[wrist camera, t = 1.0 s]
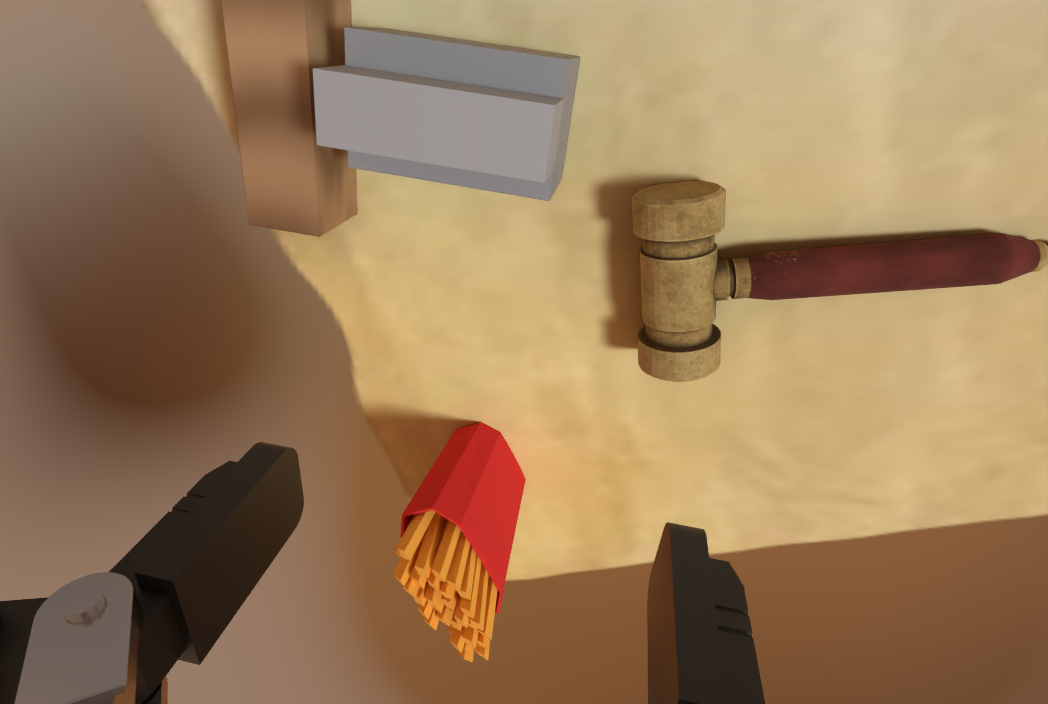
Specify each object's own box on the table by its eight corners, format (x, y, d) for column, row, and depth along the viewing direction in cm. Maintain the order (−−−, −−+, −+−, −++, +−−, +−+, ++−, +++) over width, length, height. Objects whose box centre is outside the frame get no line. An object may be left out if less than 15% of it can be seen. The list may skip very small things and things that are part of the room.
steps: (387, 28, 30) (310, 25, 23) (580, 56, 29) (560, 62, 22) (387, 150, 33) (318, 180, 26) (561, 178, 32) (539, 218, 25)
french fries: (437, 422, 41) (360, 566, 30) (489, 407, 40) (430, 552, 28) (492, 516, 45) (441, 677, 33) (542, 505, 43) (507, 669, 32)
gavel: (1143, 155, 24) (1070, 364, 29) (1064, 139, 28) (1012, 325, 33) (634, 205, 27) (641, 386, 32) (629, 185, 31) (636, 348, 36)
